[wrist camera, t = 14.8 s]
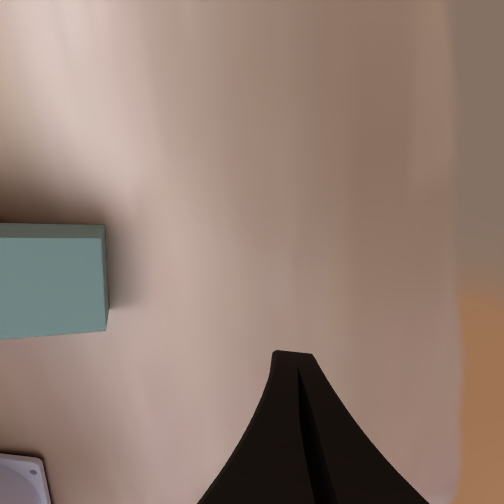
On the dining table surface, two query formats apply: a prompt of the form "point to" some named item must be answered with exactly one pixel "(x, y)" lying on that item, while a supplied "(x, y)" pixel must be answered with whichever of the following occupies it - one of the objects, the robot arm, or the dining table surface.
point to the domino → (52, 279)
